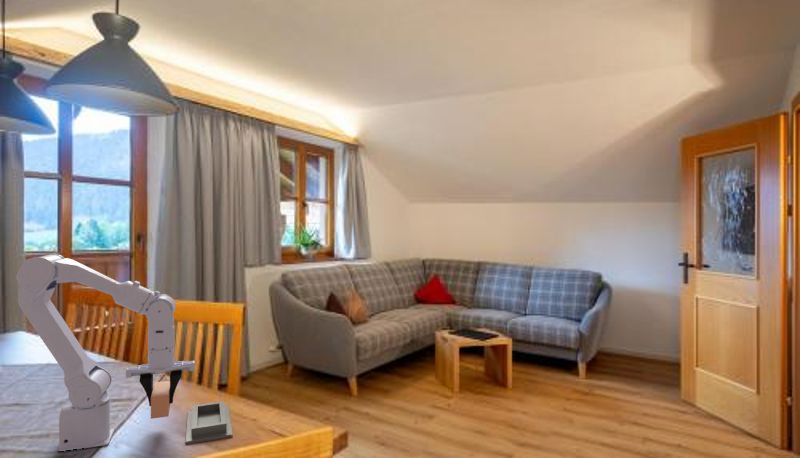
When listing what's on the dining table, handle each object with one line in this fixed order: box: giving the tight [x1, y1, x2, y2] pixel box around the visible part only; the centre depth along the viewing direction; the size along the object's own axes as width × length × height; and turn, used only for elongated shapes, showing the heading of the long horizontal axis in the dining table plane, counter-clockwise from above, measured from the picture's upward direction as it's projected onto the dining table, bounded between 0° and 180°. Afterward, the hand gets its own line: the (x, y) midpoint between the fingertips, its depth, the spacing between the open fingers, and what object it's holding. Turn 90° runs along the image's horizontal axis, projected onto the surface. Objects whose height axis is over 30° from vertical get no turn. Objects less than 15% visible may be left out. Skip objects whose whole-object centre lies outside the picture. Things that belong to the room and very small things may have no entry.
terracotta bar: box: [150, 380, 171, 420], centre depth 113 cm, size 4×10×5 cm, turn 23°
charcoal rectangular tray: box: [185, 400, 233, 445], centre depth 117 cm, size 10×18×3 cm, turn 23°
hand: (161, 403), depth 113 cm, fingers closed on terracotta bar, 4 cm apart
